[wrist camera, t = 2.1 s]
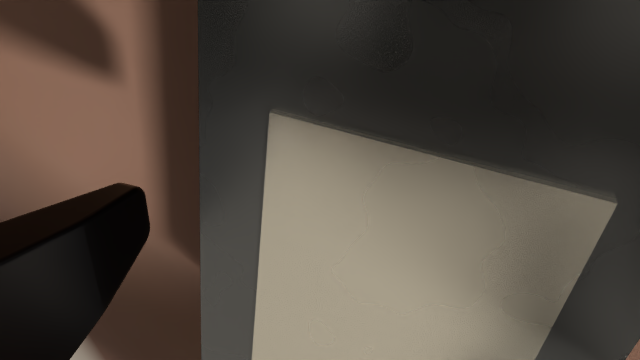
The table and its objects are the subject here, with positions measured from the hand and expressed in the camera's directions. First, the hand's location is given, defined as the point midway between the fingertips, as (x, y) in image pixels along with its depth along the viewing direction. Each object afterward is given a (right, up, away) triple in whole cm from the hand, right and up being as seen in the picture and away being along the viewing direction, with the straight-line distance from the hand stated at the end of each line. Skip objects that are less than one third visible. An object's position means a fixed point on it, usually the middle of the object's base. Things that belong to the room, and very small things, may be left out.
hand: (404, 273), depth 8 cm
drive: (+1, +1, +2) cm, 3 cm away
